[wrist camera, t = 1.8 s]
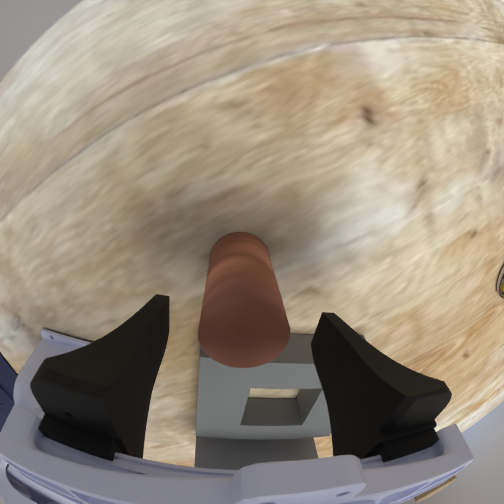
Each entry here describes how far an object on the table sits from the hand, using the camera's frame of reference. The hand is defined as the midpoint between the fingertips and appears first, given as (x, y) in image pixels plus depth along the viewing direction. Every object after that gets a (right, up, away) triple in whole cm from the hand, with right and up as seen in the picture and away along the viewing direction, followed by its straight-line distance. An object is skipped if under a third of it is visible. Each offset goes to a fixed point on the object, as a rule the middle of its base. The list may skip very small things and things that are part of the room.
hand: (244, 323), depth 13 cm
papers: (-44, -21, +14) cm, 51 cm away
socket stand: (+2, -11, +13) cm, 17 cm away
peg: (-1, +3, +6) cm, 7 cm away
